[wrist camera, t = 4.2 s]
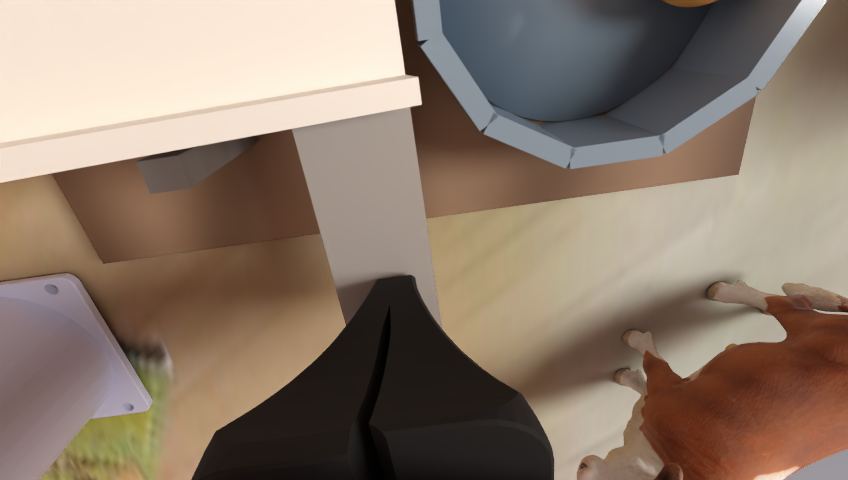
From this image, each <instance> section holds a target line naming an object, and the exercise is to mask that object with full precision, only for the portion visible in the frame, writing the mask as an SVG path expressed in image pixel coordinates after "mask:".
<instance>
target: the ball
mask: <svg viewBox="0 0 848 480" xmlns="http://www.w3.org/2000/svg"><path fill="white" fill-rule="evenodd" d="M662 1H664V2H666V3H668V4H671V5H674V6H679V7H697V6H702V5H706V4H710V3H713V2H715V1H718V0H662Z"/></svg>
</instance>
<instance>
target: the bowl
mask: <svg viewBox="0 0 848 480" xmlns="http://www.w3.org/2000/svg"><path fill="white" fill-rule="evenodd" d="M826 2H827V0H718V1H715V2H713V3H710V4H706V5H702V6H697V7H679V6H674V5H671V4H668V3H666V2H664V1H662V0H410V3H411V11H412V19H413V27H414V34H415V41H421V42H420V43H418V44H417V46H418V47H419V49H420V50H421V51H422V53H423V54H424V56H425V57H426V58H427V60H428V61H429V63H430V64H431V66H432V67H433V68H434V70H435V71H436V73H437V74H438V76H439V77H440V78H441V80H442V81H443V83H444V84H445V85H446V87H447V88H448V90H449V91H450V93H451V94H452V95H453V97H454V98H455V100H456V101H457V103H458V104H459V105H460V107H461V108H462V110H463V111H464V112H465V113H466V115H467V116H468V117H469V118H470V120H471V121H472V122H473V123H474V125H475V126H476V127H477V128H478V129H479V131H481V132H482V133H483V134H485V135H487V136H489V137H492V138H494V139H496V140H499V141H501V142H504V143H506V144H508V145H511V146H513V147H515V148H518V149H520V150H523V151H525V152H527V153H530V154H532V155H534V156H537V157H539V158H542V159H544V160H546V161H549V162H551V163H553V164H556V165H558V166H561V167H563V168H565V169H566V167H568V168H569V169H575V168H582V167H589V166H596V165H603V164H610V163H617V162H624V161H631V160H638V159H645V158H652V157H659V156H662V153H665V154H668V153H669V152H671V151H672V150H674V149H676V148H677V147H679V146H680V145H682V144H683V143H685V142H686V141H688V140H689V139H691V138H692V137H694V136H695V135H697V134H698V133H700V132H701V131H703V130H704V129H706V128H708V127H709V126H711V125H712V124H714V123H715V122H717V121H718V120H720V119H721V118H723V117H724V116H726V115H727V114H729V113H730V112H732V111H733V110H735V109H736V108H738V107H740V106H741V105H743V104H744V103H746V102H747V101H749V100H750V99H752V98H753V97H755V96H756V95H758V92H757V90H756V89H758V90H763V89H764V87H765V86H766V85H767V83H768V82H769V80H770V79H771V78H772V76H773V75H774V73H775V72H776V71H777V69H778V68H779V67H780V65H781V64H782V62H783V61H784V60H785V58H786V57H787V56H788V54H789V53H790V51H791V50H792V49H793V47H794V46H795V44H796V43H797V42H798V40H799V39H800V38H801V36H802V35H803V33H804V32H805V31H806V29H807V28H808V26H809V25H810V24H811V22H812V21H813V20H814V18H815V17H816V15H817V14H818V13H819V11H820V10H821V8H822V7H823V6H824V4H825V3H826ZM672 63H673V64H672ZM671 64H672V65H671ZM670 65H671V67H670V69H668V70H667V71H666V72H664V71H665V70H666V69H667V68H668V67H669V66H670ZM663 72H664V73H663ZM662 73H663V74H662ZM488 100H489V101H490V102H492V103H493V104H495V105H496V106H495V105H492V104H490V103H489V102H488ZM497 106H498V107H497ZM499 107H500V108H499ZM614 107H615V108H614ZM612 108H613V109H612ZM610 109H612V110H611V111H609V112H608V113H606V114H603V115H597V116H593V115H596V114H599V113H602V112H605V111H608V110H610ZM515 114H516V115H515ZM517 115H519V116H517ZM520 116H522V117H525V118H530V119H535V120H540V121H555V122H548V123H541V124H536V123H533V122H531V121H529V120H527V119H524V118H522V117H520Z"/></svg>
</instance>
